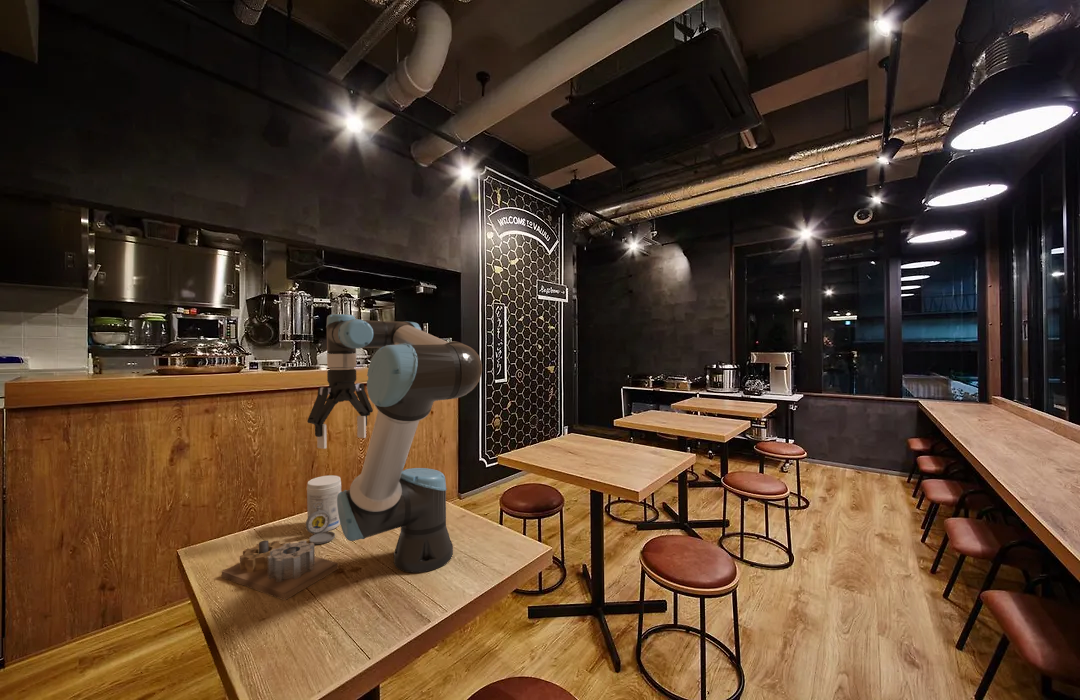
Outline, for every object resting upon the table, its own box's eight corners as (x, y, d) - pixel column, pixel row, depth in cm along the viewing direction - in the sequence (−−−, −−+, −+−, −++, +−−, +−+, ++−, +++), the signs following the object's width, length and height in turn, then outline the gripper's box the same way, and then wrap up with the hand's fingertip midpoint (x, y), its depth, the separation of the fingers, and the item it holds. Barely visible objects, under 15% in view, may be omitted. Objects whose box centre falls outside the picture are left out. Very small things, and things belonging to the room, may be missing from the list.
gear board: (338, 568, 105) (337, 543, 105) (284, 600, 92) (284, 571, 92) (277, 551, 114) (277, 527, 114) (221, 577, 101) (221, 551, 101)
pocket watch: (324, 546, 117) (323, 511, 116) (298, 543, 118) (298, 509, 118) (343, 533, 125) (343, 500, 124) (319, 531, 126) (318, 498, 126)
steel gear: (322, 564, 104) (322, 545, 104) (286, 585, 95) (285, 563, 95) (296, 557, 108) (296, 538, 108) (259, 576, 99) (259, 555, 99)
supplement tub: (314, 521, 133) (313, 475, 133) (345, 518, 135) (345, 474, 135) (302, 534, 124) (301, 485, 124) (336, 532, 125) (335, 484, 125)
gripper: (366, 366, 131) (367, 432, 132) (291, 371, 108) (292, 451, 109) (384, 366, 128) (385, 434, 129) (311, 371, 105) (312, 454, 106)
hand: (342, 442), depth 119 cm, fingers open, 13 cm apart
